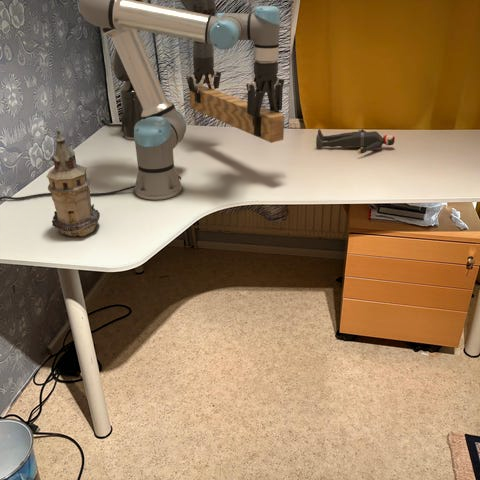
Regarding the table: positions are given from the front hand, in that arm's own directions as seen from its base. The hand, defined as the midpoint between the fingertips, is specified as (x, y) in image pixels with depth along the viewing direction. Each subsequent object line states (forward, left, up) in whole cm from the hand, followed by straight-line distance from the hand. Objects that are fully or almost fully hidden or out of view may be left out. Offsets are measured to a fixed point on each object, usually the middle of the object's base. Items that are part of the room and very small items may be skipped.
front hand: (264, 133), depth 177 cm
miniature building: (-58, -29, -17) cm, 67 cm away
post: (-9, +16, -1) cm, 18 cm away
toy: (+40, +29, -17) cm, 52 cm away
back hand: (-18, +32, +3) cm, 37 cm away
